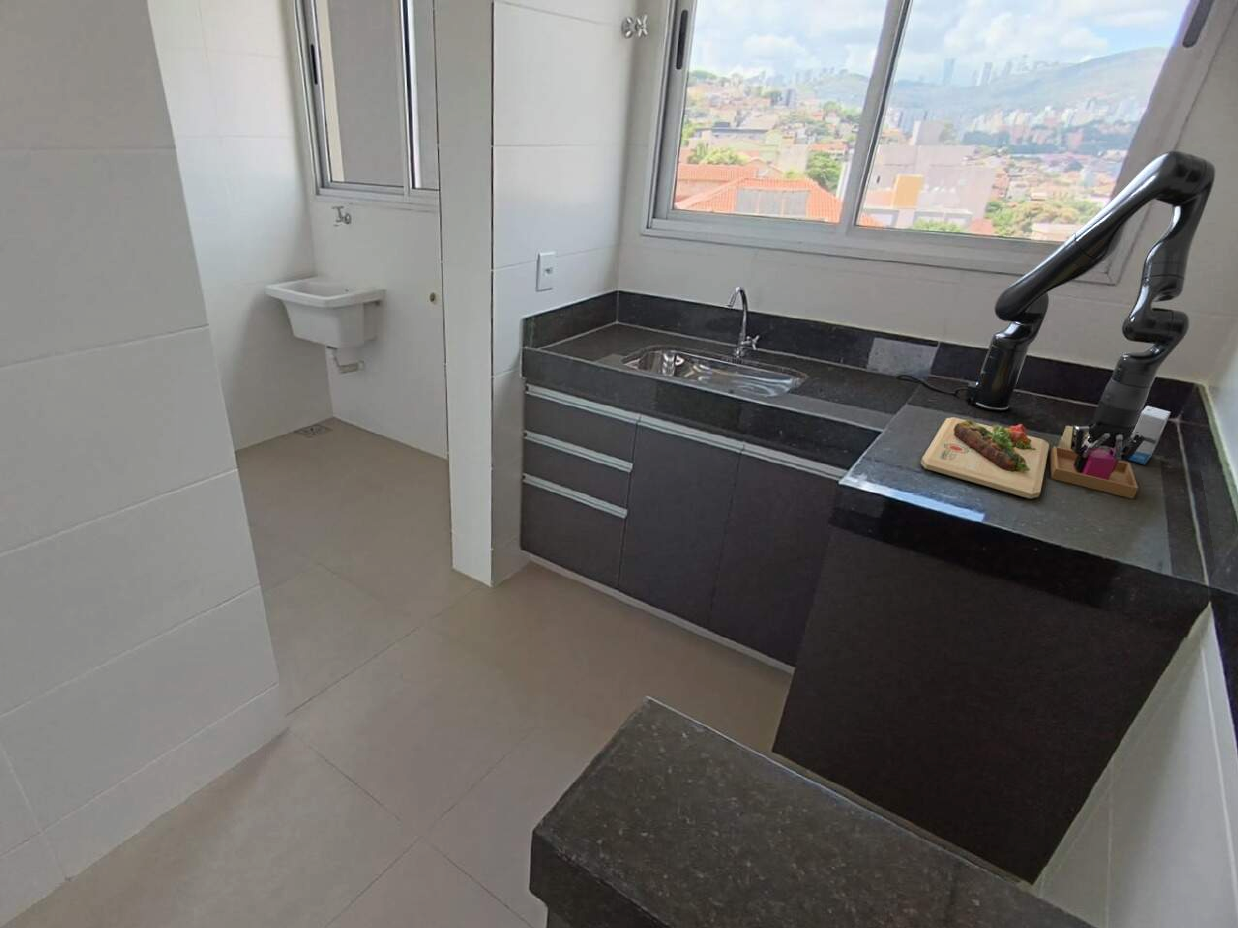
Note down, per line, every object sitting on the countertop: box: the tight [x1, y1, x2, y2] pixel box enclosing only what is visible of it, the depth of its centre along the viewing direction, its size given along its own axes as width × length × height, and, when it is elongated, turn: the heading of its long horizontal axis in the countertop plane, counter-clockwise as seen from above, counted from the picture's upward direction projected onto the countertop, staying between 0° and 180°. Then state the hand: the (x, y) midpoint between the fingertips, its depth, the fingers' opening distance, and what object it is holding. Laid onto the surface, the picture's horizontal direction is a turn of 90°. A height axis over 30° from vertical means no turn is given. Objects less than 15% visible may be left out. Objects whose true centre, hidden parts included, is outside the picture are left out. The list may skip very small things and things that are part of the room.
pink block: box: [1074, 449, 1117, 480], centre depth 147 cm, size 5×5×5 cm
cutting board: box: [920, 417, 1050, 499], centre depth 152 cm, size 35×23×8 cm
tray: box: [1049, 445, 1139, 500], centre depth 147 cm, size 15×14×3 cm
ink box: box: [1127, 405, 1172, 465], centre depth 157 cm, size 9×5×12 cm, turn 134°
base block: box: [1057, 425, 1102, 450], centre depth 157 cm, size 6×6×6 cm
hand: (1091, 472), depth 148 cm, fingers closed on pink block, 5 cm apart
